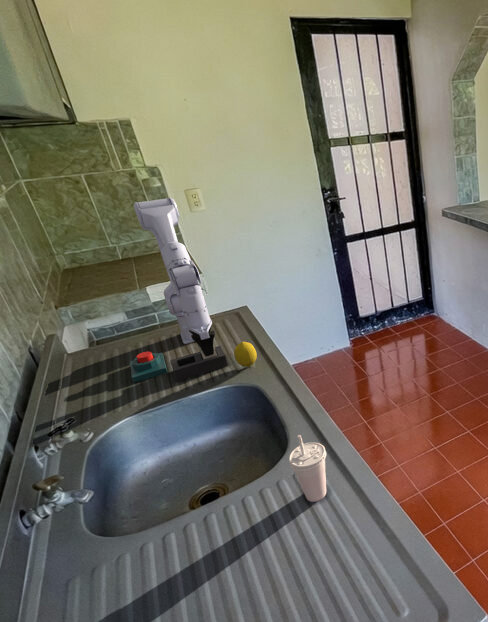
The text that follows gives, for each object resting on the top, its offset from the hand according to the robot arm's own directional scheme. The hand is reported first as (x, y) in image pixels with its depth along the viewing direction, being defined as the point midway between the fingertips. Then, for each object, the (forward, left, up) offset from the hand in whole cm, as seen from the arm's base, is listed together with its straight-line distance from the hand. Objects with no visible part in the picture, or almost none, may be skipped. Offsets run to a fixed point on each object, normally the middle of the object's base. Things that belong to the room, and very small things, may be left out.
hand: (208, 352), depth 128 cm
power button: (-9, -15, -1) cm, 17 cm away
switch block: (-9, -15, -4) cm, 18 cm away
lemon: (+8, +8, -4) cm, 12 cm away
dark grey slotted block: (0, -3, -4) cm, 5 cm away
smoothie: (+65, +7, -4) cm, 66 cm away
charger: (0, 0, -2) cm, 2 cm away
